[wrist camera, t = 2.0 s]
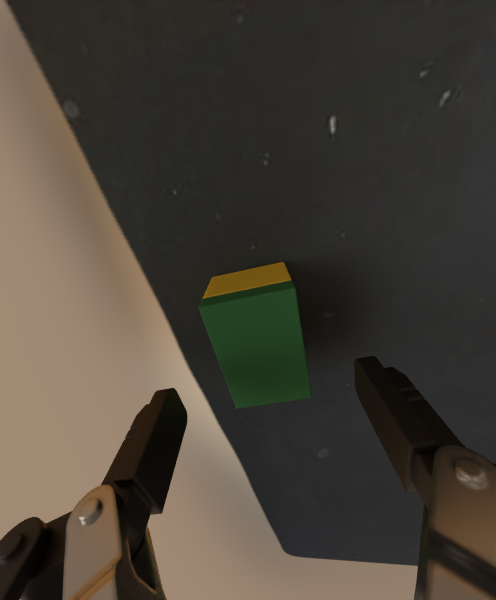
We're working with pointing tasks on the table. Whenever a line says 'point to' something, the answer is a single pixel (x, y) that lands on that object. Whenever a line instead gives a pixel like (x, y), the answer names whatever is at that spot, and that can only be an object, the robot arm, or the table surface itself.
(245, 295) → the sponge
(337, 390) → the table surface
